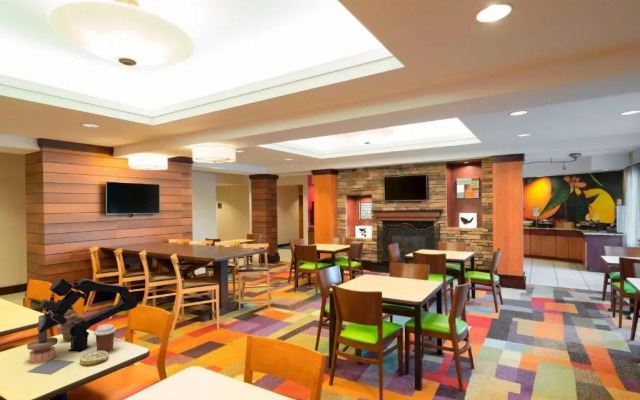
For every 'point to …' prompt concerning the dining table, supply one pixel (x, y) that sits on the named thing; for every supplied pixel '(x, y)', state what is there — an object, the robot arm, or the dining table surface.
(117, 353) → the dining table surface
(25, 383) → the dining table surface
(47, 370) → the mat
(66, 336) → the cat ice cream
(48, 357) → the bowl
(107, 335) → the coffee cup
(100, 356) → the decorated donut
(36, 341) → the lid
